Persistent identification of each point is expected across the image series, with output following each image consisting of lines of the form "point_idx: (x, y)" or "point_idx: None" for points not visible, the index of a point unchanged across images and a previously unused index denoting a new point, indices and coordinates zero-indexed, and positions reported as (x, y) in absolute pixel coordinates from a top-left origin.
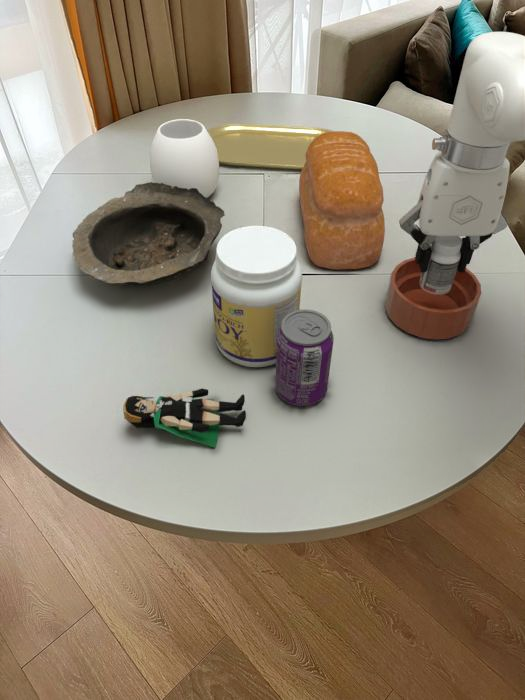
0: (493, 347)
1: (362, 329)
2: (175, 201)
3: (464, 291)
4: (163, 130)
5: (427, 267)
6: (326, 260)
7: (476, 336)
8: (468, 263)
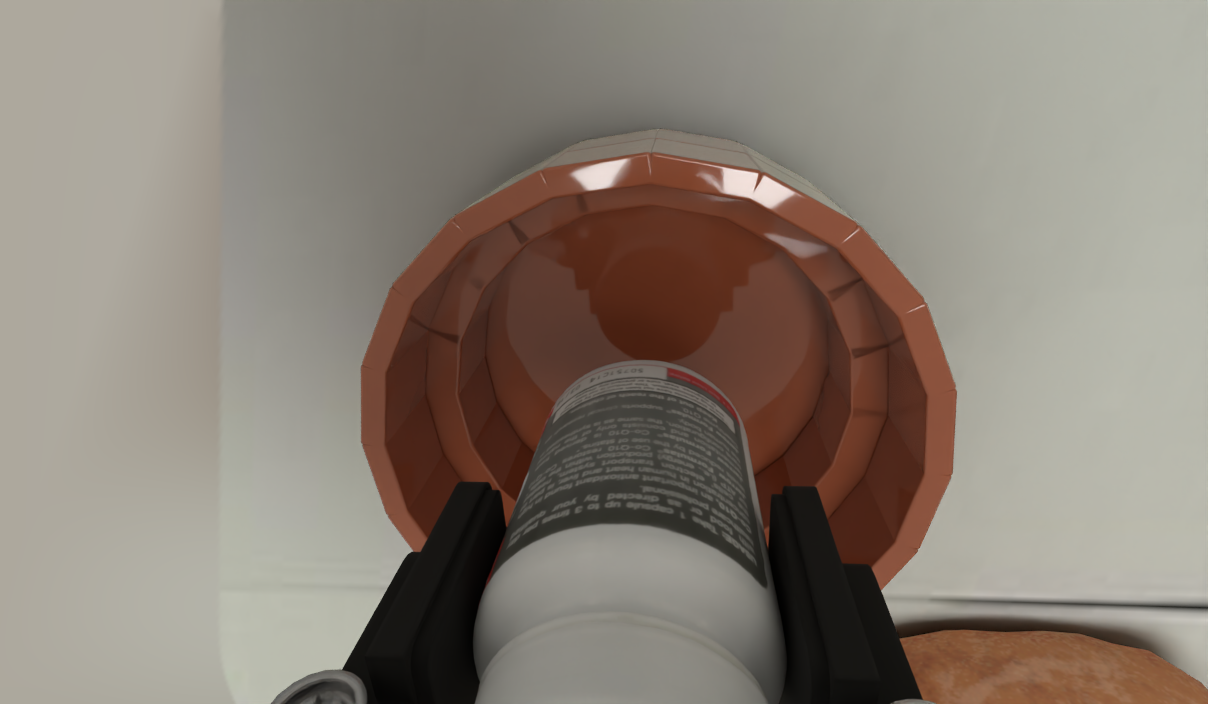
0: (348, 105)
1: (1047, 217)
2: None
3: (459, 441)
4: None
5: (782, 519)
6: (1150, 680)
7: (427, 187)
8: (416, 554)
